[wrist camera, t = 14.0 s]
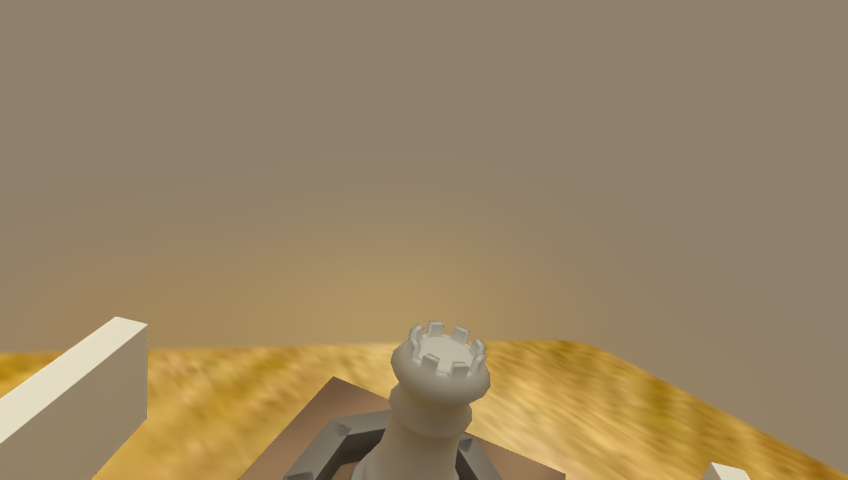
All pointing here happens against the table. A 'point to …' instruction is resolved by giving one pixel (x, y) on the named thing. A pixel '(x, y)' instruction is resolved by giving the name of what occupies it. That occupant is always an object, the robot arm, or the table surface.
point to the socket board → (361, 404)
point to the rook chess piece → (428, 406)
